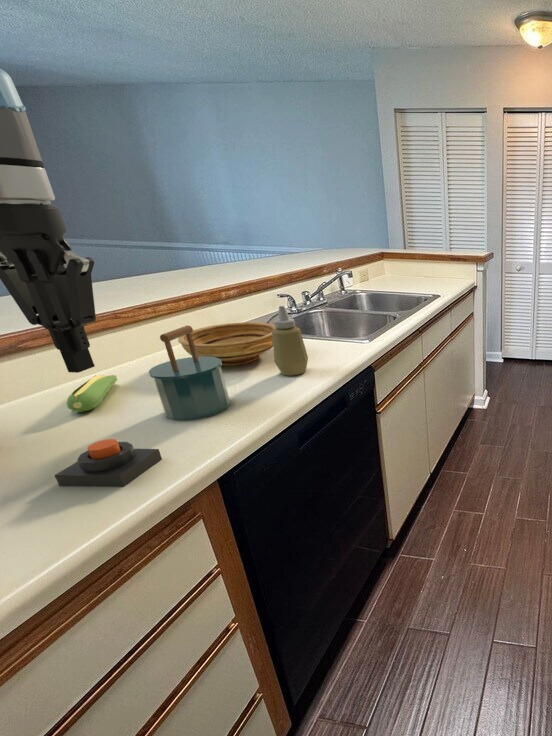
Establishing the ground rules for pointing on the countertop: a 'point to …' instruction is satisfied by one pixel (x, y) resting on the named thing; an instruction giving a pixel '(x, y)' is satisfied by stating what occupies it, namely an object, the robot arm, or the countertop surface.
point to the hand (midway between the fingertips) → (81, 369)
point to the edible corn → (91, 393)
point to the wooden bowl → (231, 341)
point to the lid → (183, 359)
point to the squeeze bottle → (288, 346)
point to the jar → (193, 396)
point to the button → (103, 448)
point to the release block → (109, 468)
